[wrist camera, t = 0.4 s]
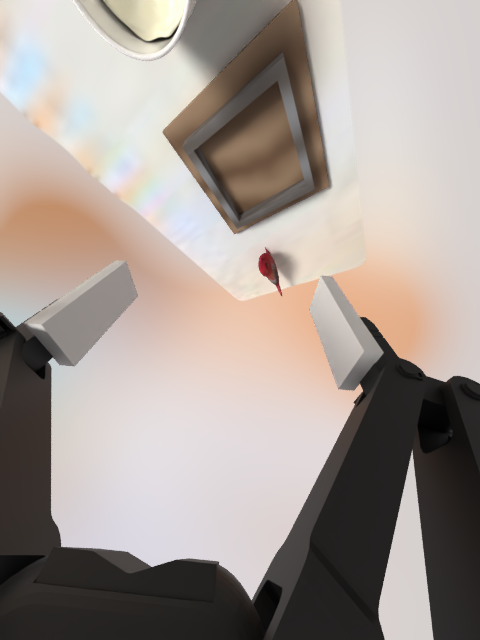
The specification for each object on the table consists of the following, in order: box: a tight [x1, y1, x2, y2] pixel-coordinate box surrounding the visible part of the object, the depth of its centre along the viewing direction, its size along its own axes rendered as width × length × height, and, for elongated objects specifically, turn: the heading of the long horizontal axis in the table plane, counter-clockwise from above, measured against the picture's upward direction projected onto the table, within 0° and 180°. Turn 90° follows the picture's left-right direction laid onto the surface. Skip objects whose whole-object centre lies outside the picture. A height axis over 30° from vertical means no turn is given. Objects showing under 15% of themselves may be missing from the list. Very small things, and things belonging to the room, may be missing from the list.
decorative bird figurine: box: [259, 248, 282, 296], centre depth 49 cm, size 3×18×10 cm, turn 27°
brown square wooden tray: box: [163, 0, 329, 234], centre depth 31 cm, size 20×20×4 cm
